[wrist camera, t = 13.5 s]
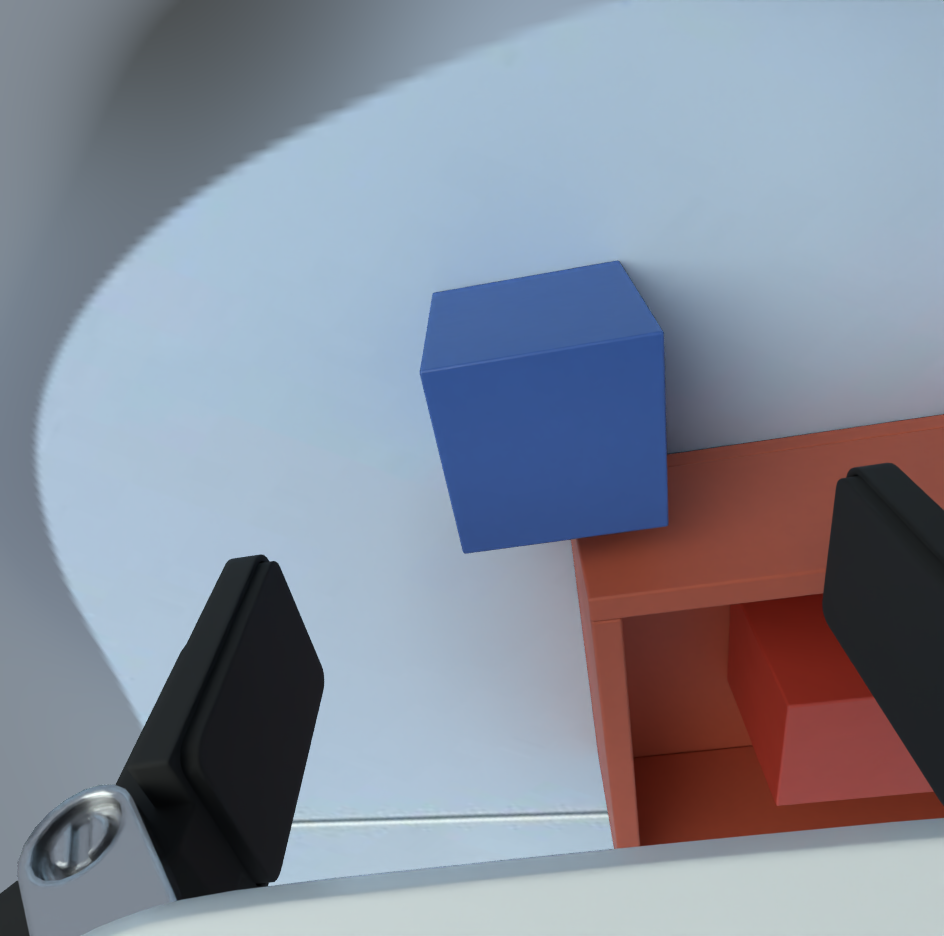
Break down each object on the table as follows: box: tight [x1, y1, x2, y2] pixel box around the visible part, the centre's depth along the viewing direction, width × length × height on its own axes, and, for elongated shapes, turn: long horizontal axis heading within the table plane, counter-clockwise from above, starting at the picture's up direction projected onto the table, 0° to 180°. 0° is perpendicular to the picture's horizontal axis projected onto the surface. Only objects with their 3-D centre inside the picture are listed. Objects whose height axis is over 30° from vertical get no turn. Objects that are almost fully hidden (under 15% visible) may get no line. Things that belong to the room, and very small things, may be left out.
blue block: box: [420, 261, 669, 554], centre depth 15 cm, size 4×4×4 cm
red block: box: [727, 593, 934, 806], centre depth 19 cm, size 4×4×4 cm
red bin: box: [571, 414, 944, 849], centre depth 19 cm, size 13×13×5 cm
